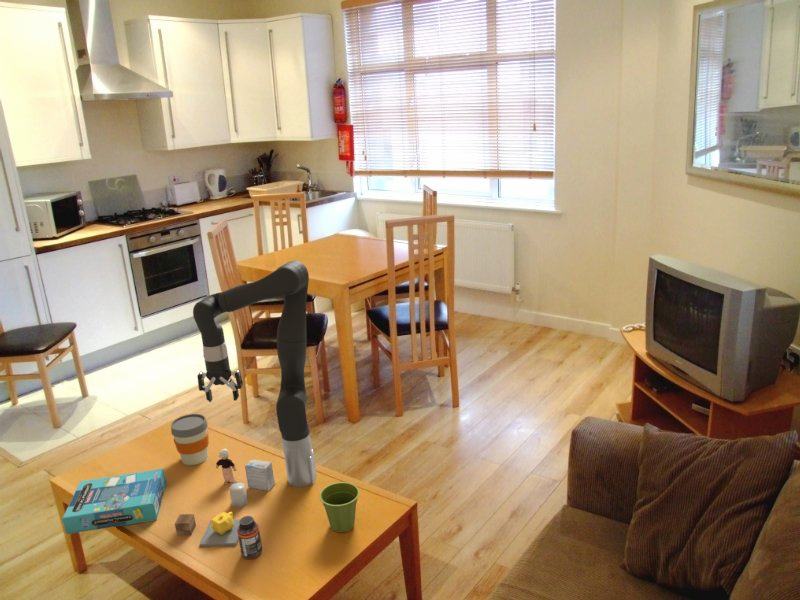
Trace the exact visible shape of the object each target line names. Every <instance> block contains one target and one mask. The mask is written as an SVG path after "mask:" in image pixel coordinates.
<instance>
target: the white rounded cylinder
mask: <svg viewBox="0 0 800 600" xmlns="http://www.w3.org/2000/svg"><path fill="white" fill-rule="evenodd" d="M228 490H229V494H230V495H229V496H230V501H231V506H232V507H233V508H235V509H240V508H243V507H245V506H247V505H248V502H249V501H248V494H247V489H246V484H245V483H244V482H237V483H235V484H233V485H229V487H228Z"/></svg>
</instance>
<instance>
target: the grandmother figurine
mask: <svg viewBox="0 0 800 600" xmlns="http://www.w3.org/2000/svg"><path fill="white" fill-rule="evenodd" d="M229 452H230V451H229V450H228V448H222V449H221V450H220V452H219V454H218V458H219V460H217V462H216V463H215V468H216V469H219V467H220V466H221V470H222V476H223V485H228V484H229V486H231V485H233V484H235V483H238V480H237V479H236V478H235V476H234V472H236V471H237V468H236V464H235V463H234V462H233V461H232V459H230V458H229V455H230V454H229Z"/></svg>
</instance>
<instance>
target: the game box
mask: <svg viewBox="0 0 800 600" xmlns="http://www.w3.org/2000/svg"><path fill="white" fill-rule="evenodd" d="M166 486H167V480H166V474H165V469H164V468H157V469H153V470H145V471H139V472H133V473H131V472H130V473H126V474H119V475H114V476H113V475H112V476H105V477H99V478H94V479H93V478H92V479H87V480H86V479H85V480H80V481H79V483H78V485H77V487H76V490H75V491H74V492H73V493H74V494H73V496H72V498H71V500H70V502H69V504H68V506H67V508H66V510H65V512H64V514H63V516H62V518H61V521H62V524H63V527H64V531H65V534H66V535H72V534H77V533H84V532H89V531H96V530H102V529H107V528H109V529H110V528H114V527H121V526H126V525H133V524H139V523H141V524H142V523H146V522H153V521H157V520H158V516H159V513H160V510H161V509H160V508H161V505H162V500H163V496H164V493H165V489H166Z"/></svg>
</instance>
